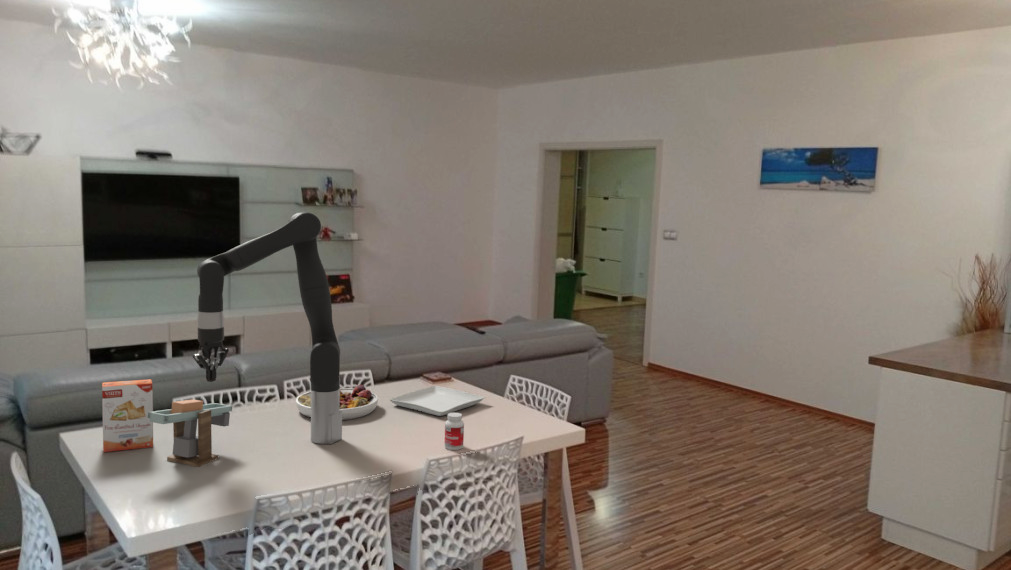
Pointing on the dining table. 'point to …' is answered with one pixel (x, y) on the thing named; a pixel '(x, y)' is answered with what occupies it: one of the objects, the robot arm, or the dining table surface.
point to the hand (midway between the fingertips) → (211, 381)
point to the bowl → (345, 402)
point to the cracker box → (127, 415)
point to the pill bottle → (454, 432)
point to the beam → (191, 425)
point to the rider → (186, 406)
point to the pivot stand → (203, 441)
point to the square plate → (437, 400)
